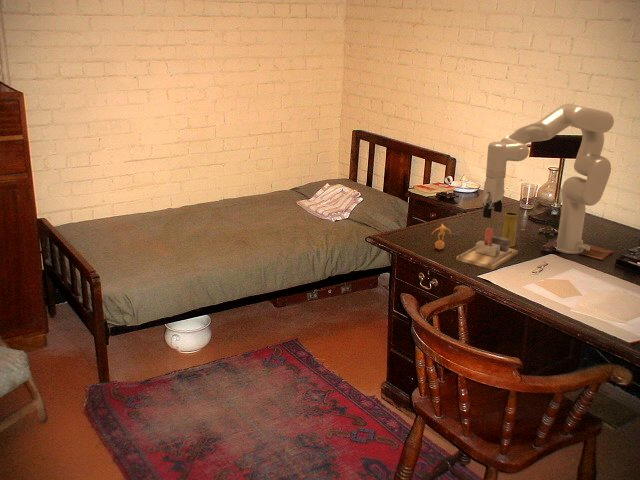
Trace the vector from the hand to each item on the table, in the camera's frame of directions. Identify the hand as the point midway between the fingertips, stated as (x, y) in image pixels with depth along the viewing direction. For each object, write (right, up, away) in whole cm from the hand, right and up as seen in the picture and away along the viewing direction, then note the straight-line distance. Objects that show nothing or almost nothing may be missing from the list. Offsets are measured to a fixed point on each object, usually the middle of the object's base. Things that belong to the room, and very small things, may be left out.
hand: (492, 214), depth 267 cm
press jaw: (-1, -16, +5) cm, 17 cm away
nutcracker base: (0, -17, +6) cm, 19 cm away
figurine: (-19, -15, +13) cm, 28 cm away
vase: (+12, -13, +21) cm, 27 cm away
